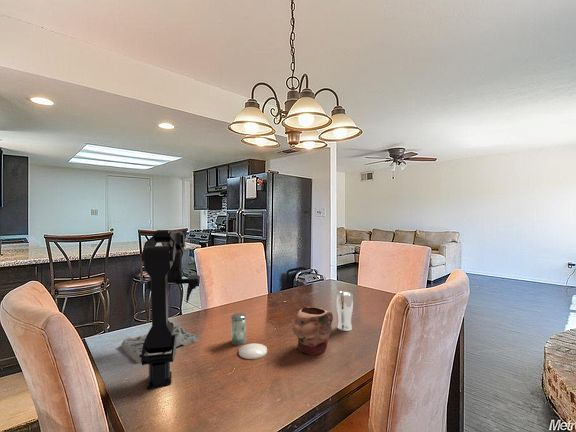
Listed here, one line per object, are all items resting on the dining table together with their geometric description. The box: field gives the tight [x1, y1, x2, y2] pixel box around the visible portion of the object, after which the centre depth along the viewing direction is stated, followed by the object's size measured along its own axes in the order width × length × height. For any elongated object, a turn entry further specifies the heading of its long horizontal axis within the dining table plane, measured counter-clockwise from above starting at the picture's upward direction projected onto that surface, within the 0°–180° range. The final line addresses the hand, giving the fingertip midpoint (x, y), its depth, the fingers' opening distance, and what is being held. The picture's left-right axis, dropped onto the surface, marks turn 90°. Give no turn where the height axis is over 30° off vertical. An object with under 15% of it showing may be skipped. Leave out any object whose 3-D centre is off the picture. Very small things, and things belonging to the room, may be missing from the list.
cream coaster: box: [238, 343, 268, 360], centre depth 102 cm, size 10×10×1 cm
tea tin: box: [230, 312, 247, 346], centre depth 110 cm, size 6×6×10 cm
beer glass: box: [336, 290, 354, 332], centre depth 123 cm, size 7×7×15 cm
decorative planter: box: [292, 306, 334, 356], centre depth 105 cm, size 20×12×14 cm, turn 138°
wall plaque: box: [121, 325, 200, 364], centre depth 108 cm, size 24×19×4 cm
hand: (174, 303), depth 110 cm, fingers open, 9 cm apart
